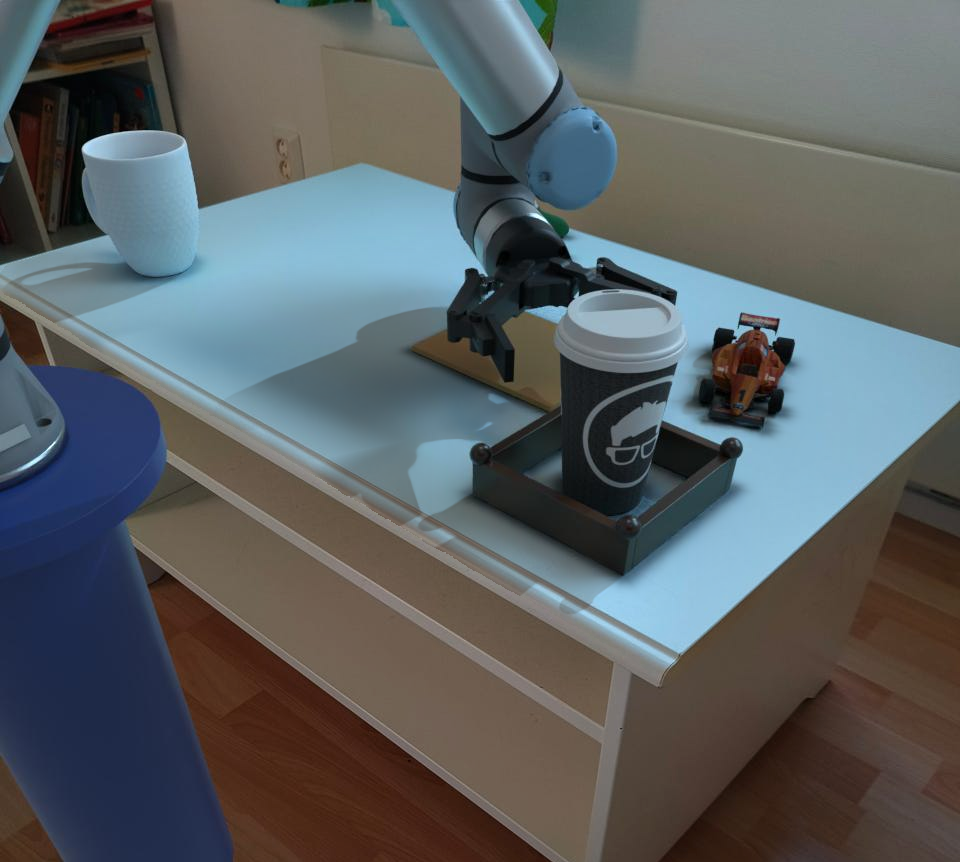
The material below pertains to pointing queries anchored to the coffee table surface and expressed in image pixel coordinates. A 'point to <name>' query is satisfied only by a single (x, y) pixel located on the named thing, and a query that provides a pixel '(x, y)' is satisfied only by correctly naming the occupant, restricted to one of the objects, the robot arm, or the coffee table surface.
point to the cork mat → (531, 363)
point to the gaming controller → (555, 222)
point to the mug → (144, 198)
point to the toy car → (747, 369)
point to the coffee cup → (614, 392)
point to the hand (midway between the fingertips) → (593, 357)
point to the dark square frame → (585, 526)
